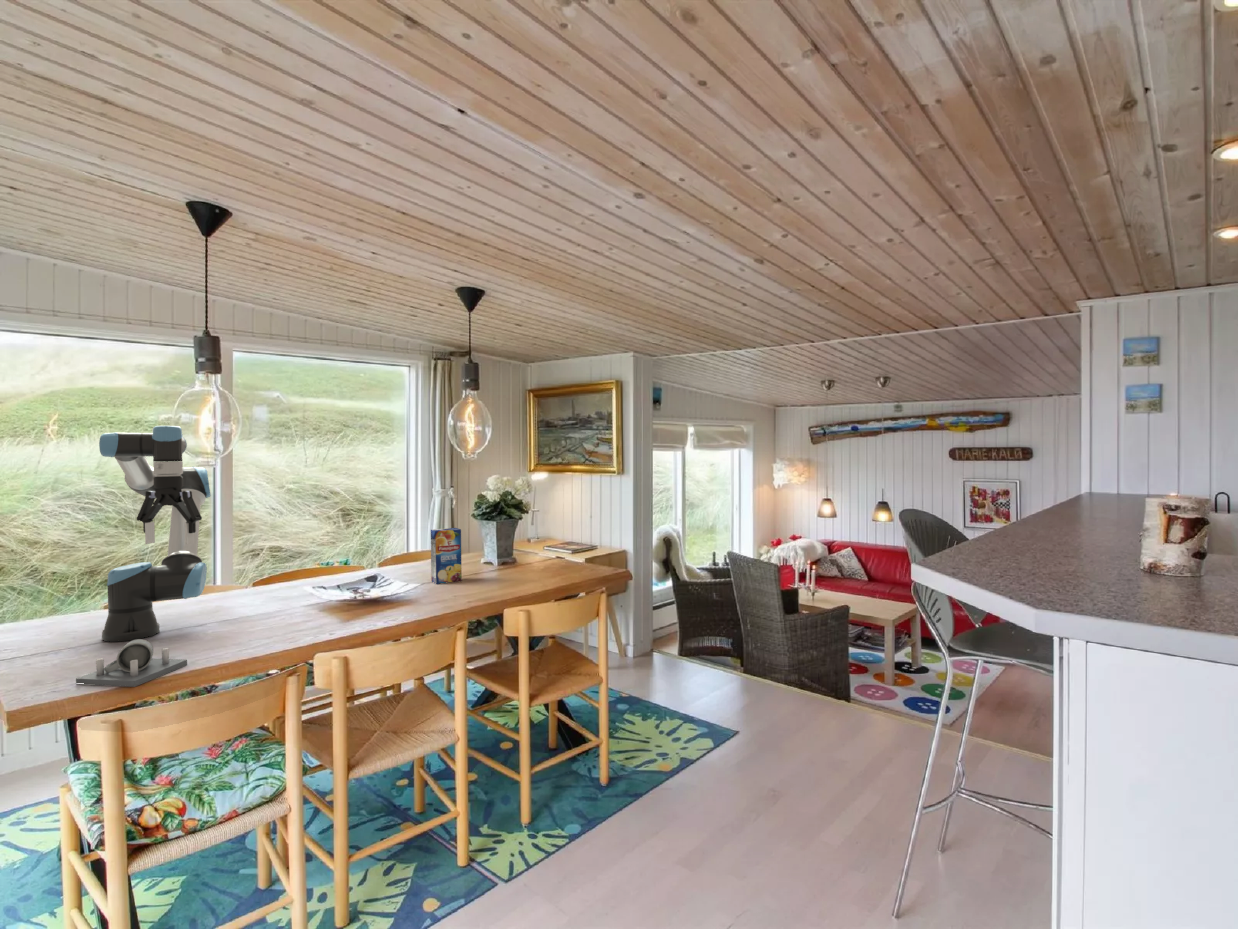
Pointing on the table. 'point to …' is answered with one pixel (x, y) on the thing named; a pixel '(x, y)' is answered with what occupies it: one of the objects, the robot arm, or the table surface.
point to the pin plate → (136, 680)
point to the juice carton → (446, 555)
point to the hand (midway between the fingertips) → (169, 543)
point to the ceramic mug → (132, 656)
